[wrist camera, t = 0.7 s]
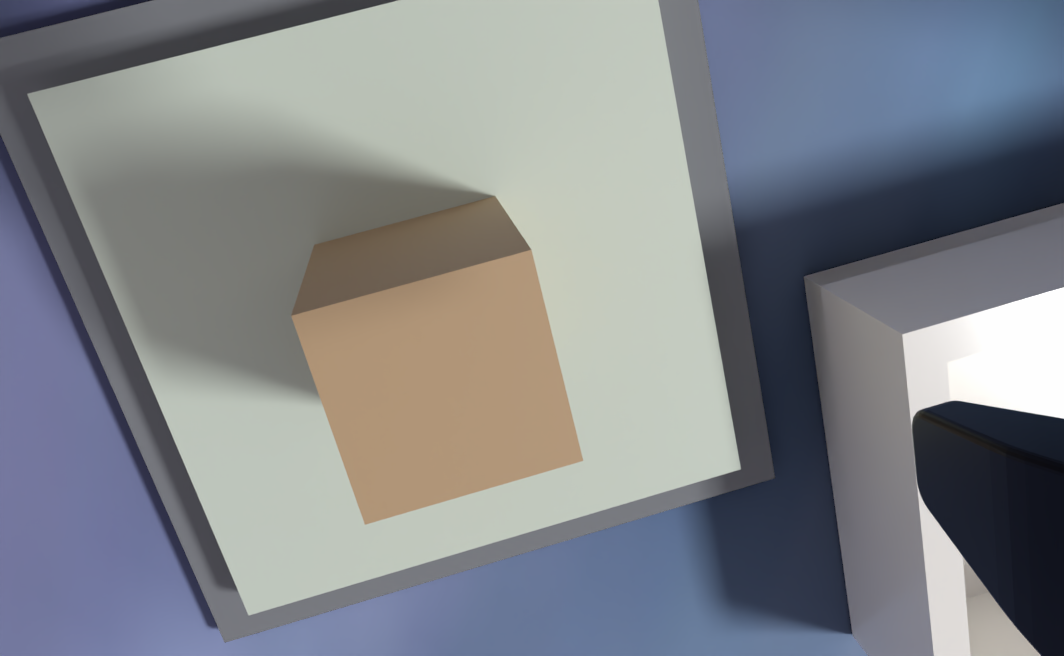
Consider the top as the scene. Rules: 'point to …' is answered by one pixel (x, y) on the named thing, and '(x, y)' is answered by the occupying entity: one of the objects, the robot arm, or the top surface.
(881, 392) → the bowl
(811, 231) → the top surface
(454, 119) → the lid
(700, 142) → the mat
